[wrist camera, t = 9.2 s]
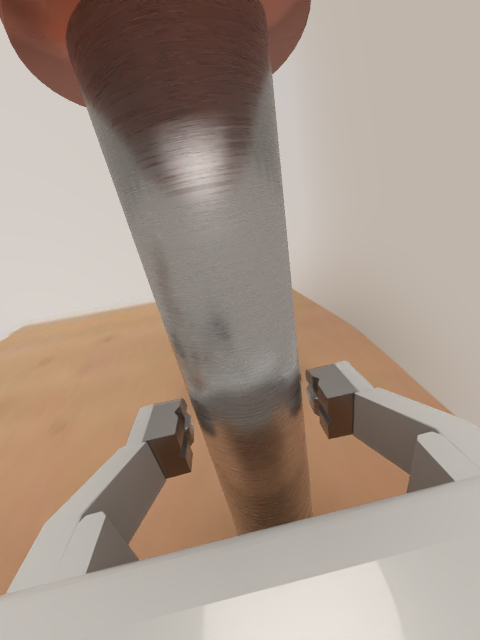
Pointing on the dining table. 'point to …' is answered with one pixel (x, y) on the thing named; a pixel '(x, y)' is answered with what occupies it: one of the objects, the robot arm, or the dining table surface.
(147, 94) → the copper-headed rod
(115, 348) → the dining table surface
